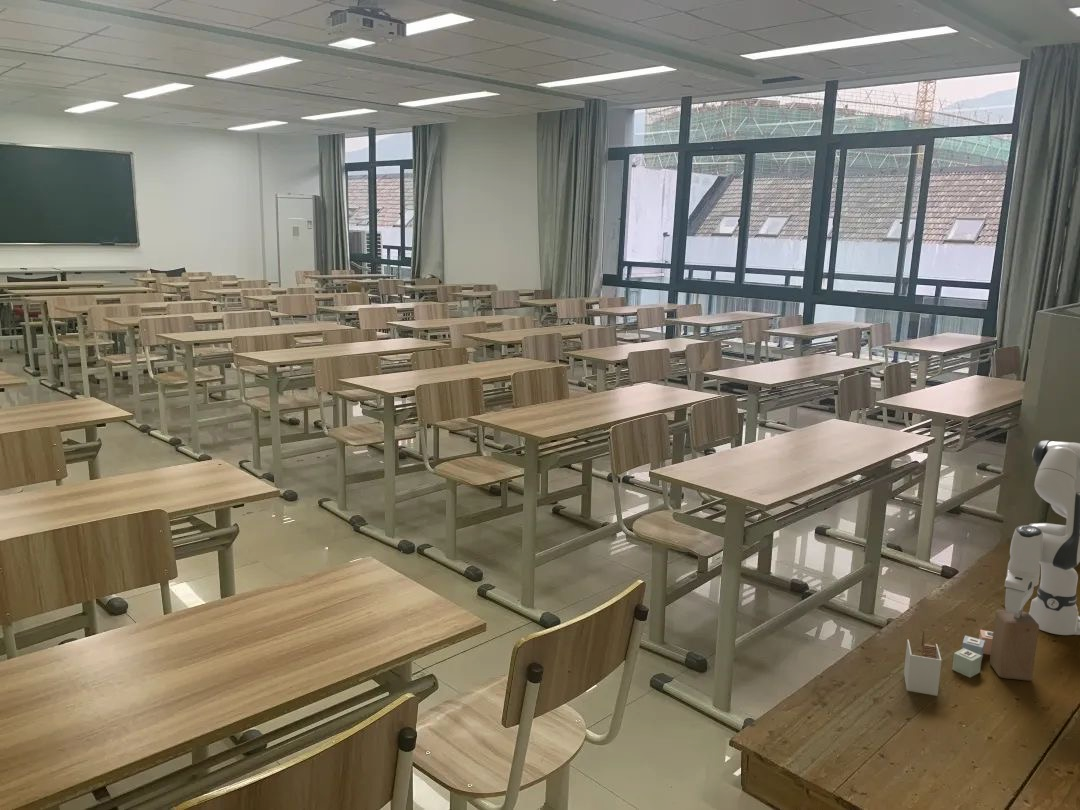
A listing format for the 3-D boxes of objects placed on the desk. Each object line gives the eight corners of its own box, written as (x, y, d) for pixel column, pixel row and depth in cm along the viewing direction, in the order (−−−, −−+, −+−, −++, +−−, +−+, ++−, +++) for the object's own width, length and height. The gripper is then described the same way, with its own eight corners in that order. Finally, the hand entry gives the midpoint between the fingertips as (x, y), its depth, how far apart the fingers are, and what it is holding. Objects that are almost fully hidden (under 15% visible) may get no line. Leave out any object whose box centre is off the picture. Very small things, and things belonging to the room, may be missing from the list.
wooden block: (1032, 682, 253) (1040, 624, 249) (998, 678, 255) (1006, 621, 251) (1020, 666, 262) (1028, 610, 258) (988, 663, 264) (995, 608, 260)
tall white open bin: (933, 679, 255) (938, 632, 252) (937, 697, 245) (942, 648, 242) (903, 674, 258) (908, 627, 255) (906, 691, 248) (911, 643, 245)
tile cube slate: (963, 651, 272) (965, 634, 271) (982, 656, 269) (985, 639, 267) (960, 658, 267) (962, 641, 266) (980, 664, 264) (982, 646, 263)
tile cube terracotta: (978, 645, 276) (980, 628, 275) (997, 648, 274) (999, 631, 273) (980, 653, 271) (982, 635, 270) (999, 656, 269) (1002, 639, 267)
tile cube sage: (961, 664, 263) (964, 646, 262) (979, 672, 259) (982, 654, 257) (952, 669, 260) (954, 651, 259) (970, 677, 255) (972, 659, 254)
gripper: (1019, 564, 261) (1014, 602, 264) (1003, 582, 247) (998, 623, 249) (1041, 569, 257) (1036, 608, 260) (1026, 588, 242) (1020, 630, 245)
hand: (1017, 616), depth 255 cm, fingers closed, pressing on wooden block
